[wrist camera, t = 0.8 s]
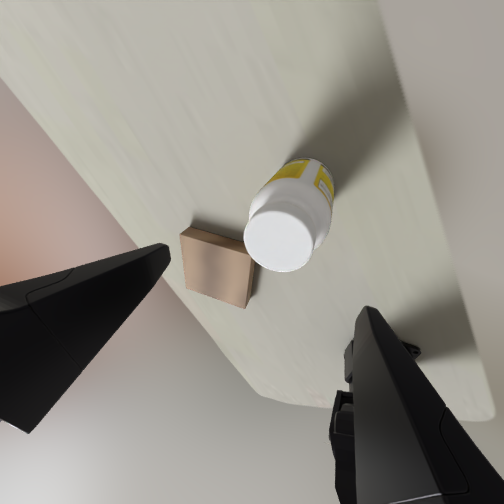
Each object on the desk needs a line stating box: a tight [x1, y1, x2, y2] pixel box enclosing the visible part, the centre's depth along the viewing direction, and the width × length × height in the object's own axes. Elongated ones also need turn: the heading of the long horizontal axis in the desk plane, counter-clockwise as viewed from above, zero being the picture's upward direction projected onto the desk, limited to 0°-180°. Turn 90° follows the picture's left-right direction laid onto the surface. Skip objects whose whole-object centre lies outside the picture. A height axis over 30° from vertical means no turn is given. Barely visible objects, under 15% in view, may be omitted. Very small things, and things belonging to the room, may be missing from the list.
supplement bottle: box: [244, 158, 334, 272], centre depth 15 cm, size 5×5×10 cm
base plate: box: [180, 227, 255, 309], centre depth 27 cm, size 9×9×2 cm
